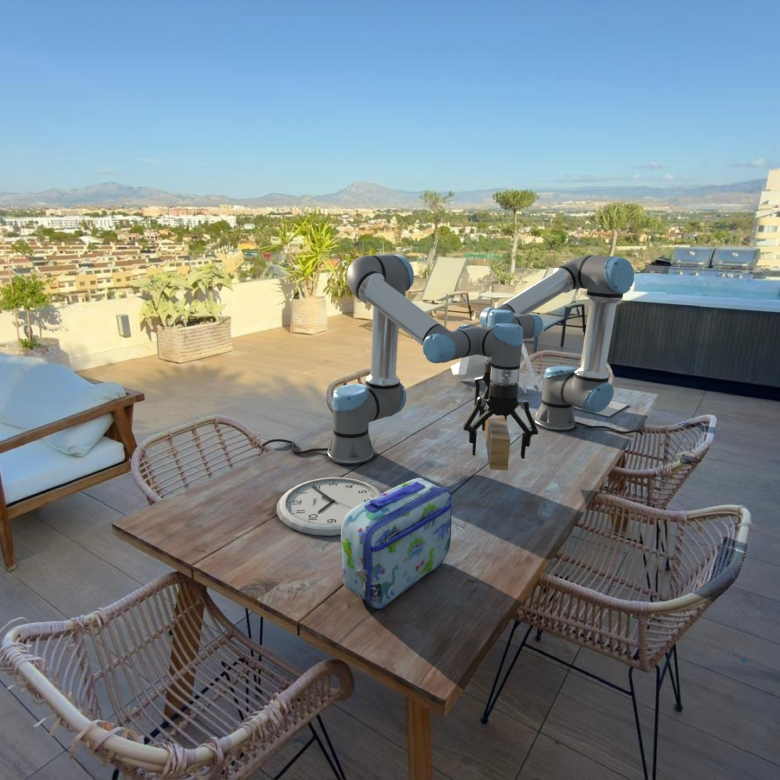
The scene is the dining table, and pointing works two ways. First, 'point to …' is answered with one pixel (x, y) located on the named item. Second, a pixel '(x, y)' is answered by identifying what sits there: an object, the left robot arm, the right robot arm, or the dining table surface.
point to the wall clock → (323, 504)
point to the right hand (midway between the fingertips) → (491, 429)
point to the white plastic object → (476, 365)
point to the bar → (497, 442)
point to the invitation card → (610, 408)
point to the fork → (441, 485)
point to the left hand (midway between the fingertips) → (497, 455)
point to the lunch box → (395, 540)
